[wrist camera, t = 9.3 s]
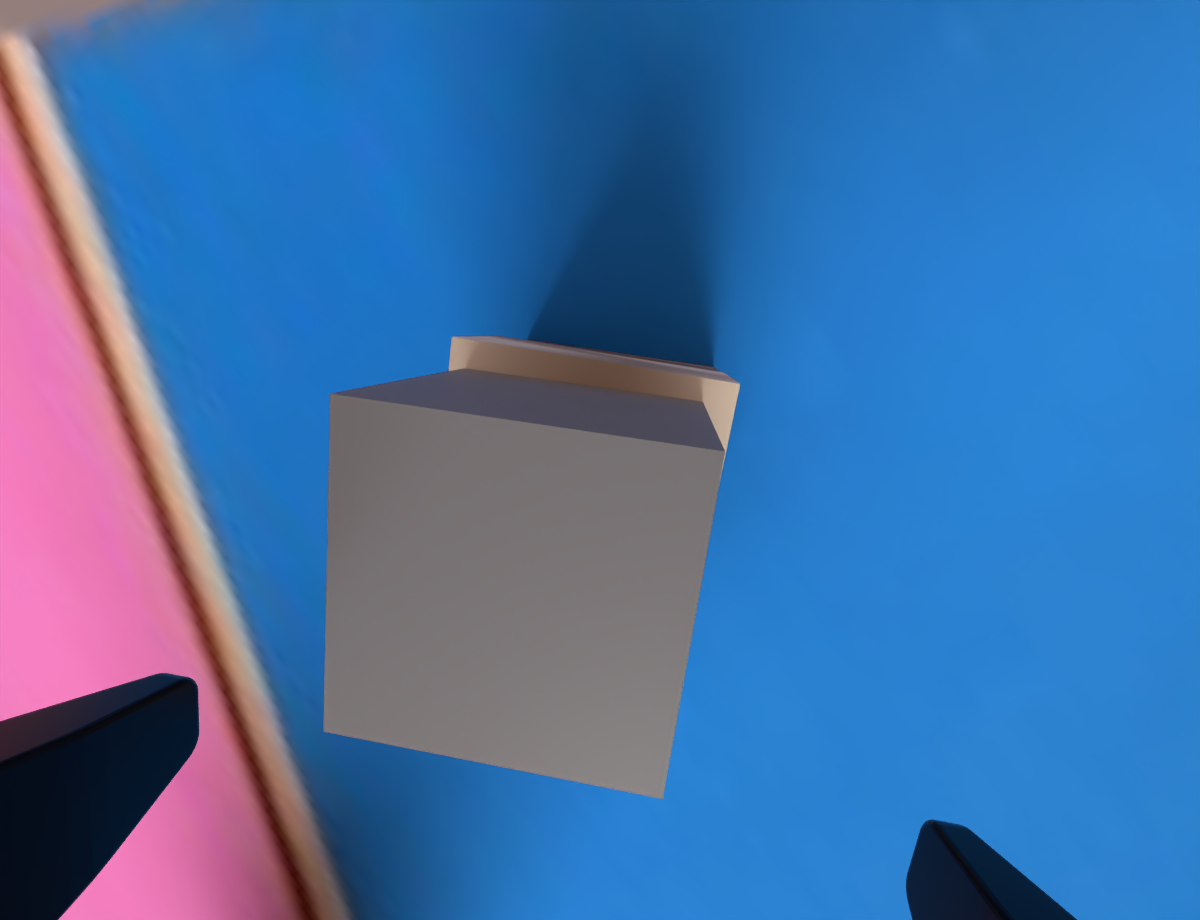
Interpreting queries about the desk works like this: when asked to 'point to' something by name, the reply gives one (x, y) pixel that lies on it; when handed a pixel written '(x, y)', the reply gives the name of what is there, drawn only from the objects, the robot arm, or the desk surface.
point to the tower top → (601, 372)
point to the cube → (516, 571)
